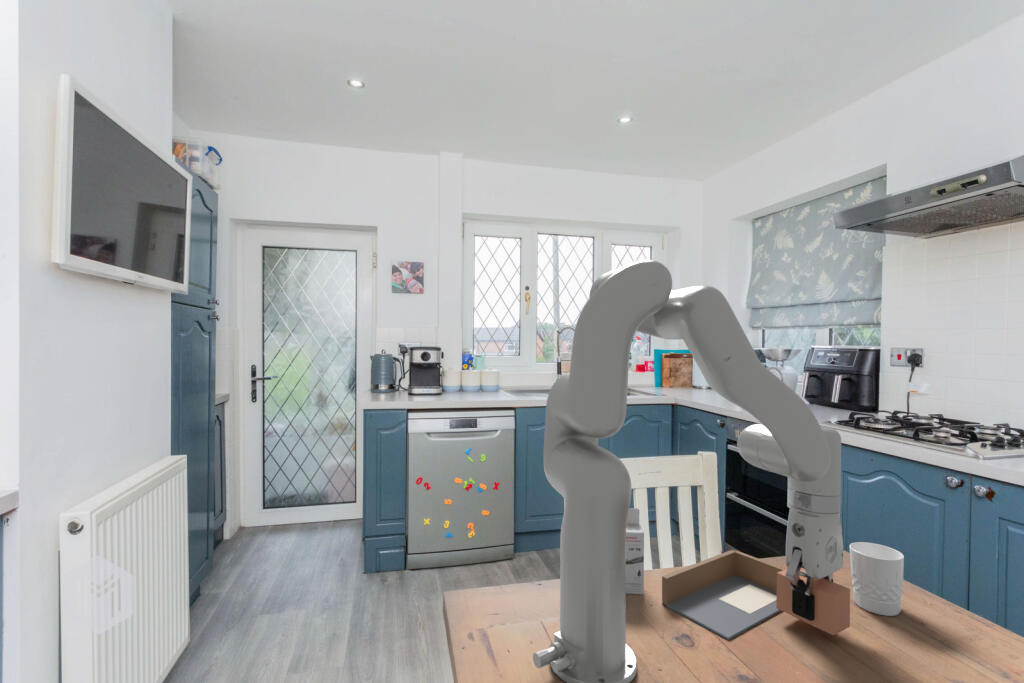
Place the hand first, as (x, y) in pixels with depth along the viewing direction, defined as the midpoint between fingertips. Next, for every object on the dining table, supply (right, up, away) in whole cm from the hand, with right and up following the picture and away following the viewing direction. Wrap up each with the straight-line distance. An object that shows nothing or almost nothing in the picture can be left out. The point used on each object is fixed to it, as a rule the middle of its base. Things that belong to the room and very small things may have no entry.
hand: (812, 610), depth 80 cm
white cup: (+16, -4, +7) cm, 18 cm away
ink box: (-29, -3, +14) cm, 32 cm away
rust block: (0, -1, 0) cm, 1 cm away
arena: (-10, -3, +9) cm, 14 cm away
